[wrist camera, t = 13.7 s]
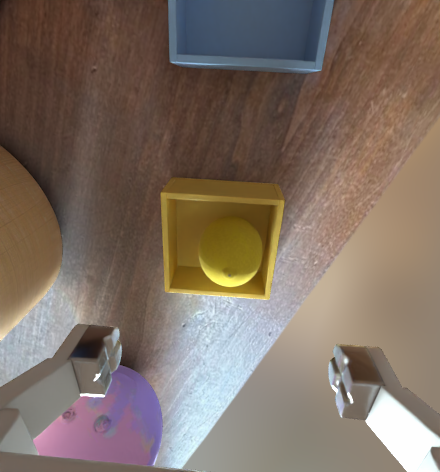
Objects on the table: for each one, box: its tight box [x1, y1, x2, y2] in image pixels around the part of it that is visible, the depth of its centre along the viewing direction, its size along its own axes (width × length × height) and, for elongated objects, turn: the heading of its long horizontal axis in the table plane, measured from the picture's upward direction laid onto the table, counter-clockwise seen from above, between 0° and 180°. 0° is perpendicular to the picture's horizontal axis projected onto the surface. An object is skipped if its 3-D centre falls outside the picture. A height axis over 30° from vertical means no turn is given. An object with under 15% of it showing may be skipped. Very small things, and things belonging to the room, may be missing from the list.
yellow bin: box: [161, 177, 285, 300], centre depth 27 cm, size 10×10×4 cm
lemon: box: [199, 216, 263, 287], centre depth 25 cm, size 6×6×8 cm
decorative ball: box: [33, 365, 163, 466], centre depth 34 cm, size 15×15×15 cm
